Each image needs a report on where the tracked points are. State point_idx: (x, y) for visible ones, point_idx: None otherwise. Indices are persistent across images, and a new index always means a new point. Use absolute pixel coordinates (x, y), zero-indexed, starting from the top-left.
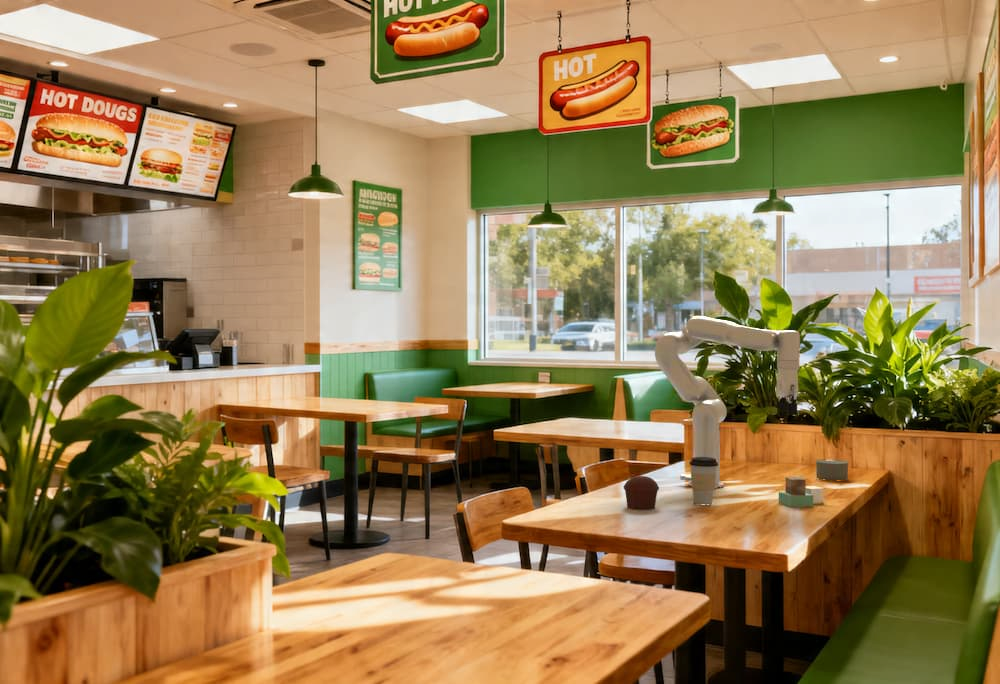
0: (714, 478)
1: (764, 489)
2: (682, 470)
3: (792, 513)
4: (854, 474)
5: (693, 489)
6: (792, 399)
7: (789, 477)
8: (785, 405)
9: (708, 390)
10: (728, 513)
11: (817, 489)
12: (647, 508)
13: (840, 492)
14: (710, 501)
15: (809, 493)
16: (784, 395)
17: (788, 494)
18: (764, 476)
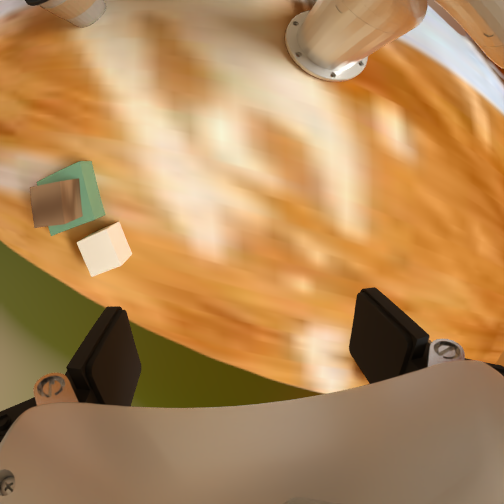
0: (49, 11)
1: (283, 170)
2: (486, 95)
3: (5, 173)
4: None
5: None
6: (7, 409)
7: (55, 190)
8: (376, 369)
9: None
10: (11, 63)
11: (85, 260)
12: None
13: (247, 339)
14: (72, 23)
15: (85, 237)
16: (27, 412)
17: (51, 179)
18: (444, 231)
